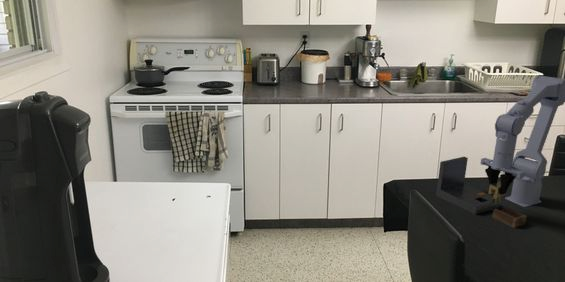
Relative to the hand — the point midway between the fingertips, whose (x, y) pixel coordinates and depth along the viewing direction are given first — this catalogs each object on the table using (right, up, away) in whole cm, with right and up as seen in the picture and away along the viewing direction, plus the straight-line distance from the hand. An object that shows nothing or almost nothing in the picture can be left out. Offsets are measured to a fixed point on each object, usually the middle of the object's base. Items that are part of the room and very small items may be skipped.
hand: (497, 191), depth 158 cm
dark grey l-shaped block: (-6, -5, +12) cm, 14 cm away
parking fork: (+2, -9, -1) cm, 9 cm away
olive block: (0, -3, +1) cm, 4 cm away
